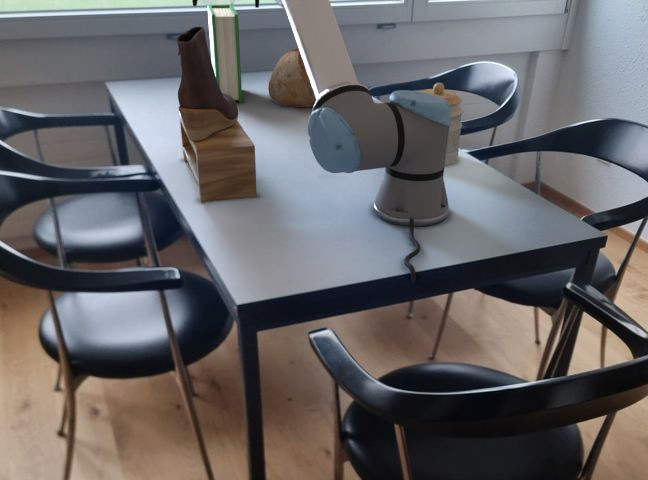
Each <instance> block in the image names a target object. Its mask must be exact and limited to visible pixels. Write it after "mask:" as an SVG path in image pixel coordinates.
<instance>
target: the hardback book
mask: <svg viewBox="0 0 648 480" xmlns="http://www.w3.org/2000/svg"><path fill="white" fill-rule="evenodd" d="M206 6H207V19H208V32H209V33H208V34H209V45H210V47H209V49H210V59H211V63H212V66H213V69H214V73H215V77H216V80H217V82H218V85H219V88H220V90H221V92H222V93H225V94H228V95H230V96H231V97H232V98H233V99H234V101H238V103H239V104H241V103H243V89H242V88H243V87H242V67H241V51H240V50H241V45H240V28H239V27H240V26H239V14H238V12H237V10H236V9H235V8H234V5H233V4H207V5H206Z"/></svg>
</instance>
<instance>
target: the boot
mask: <svg viewBox="0 0 648 480" xmlns="http://www.w3.org/2000/svg"><path fill="white" fill-rule="evenodd" d="M175 41H176V44H177V48H178V51H177V56H179V64H180V72H181V76H180V82H179V83H180V84H179V86H178V90H177V101H178V113H179V112H180V115H181V117H182V120H183V123H184V126H185V129H186V132H187V135H188V138H189V139H190V140H191V141H196V142H198V141H202V140H204V139H206V138H207V137H209V136H210V135H211V134H213V133H215V132H217V131H219V130H222V129H226V128H229V127H231V126H233V125H234V124H235V123H236V121H238V119H239V107H238V104H237V103H236V100H234V99H233V98H232V97H231V96H230V95H228V94H225V93H222V92H221V90H220V88H219V85H218V82H217V80H216V77H215V73H214V69H213V66H212V61H211V54H210V51H209V46H208V42H207V38H206V31H205V27H204V26H193V27H191V28H189V29H188V30H186V31H185V33H180V34H179V35H178V36H177V37H176V39H175Z"/></svg>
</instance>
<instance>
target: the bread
mask: <svg viewBox="0 0 648 480" xmlns="http://www.w3.org/2000/svg"><path fill="white" fill-rule="evenodd" d="M273 68H274V69H273V70H272V73H271V76H270V78H269V81H268V87H267V88H268V89H267V90H268V95H269V97H270V98H271V100H272V101H273V102H274V103H276V104H277V105H280V106H283V107H288V108H313V106H314V104H315V102H316V98H315V95H314V92H313V89H312V86H311V83H310V80H309V77H308V74H307V71H306V68H305V65H304V62H303V59H302V56H301V53H300V50H299V47H298V46H297V47H295V48H293V49H291V50H289V51H288V52H286V53H285V54H283V55H282V56H281V57H280V58H279V60H278V61H277V62H276V65H275V67H273Z"/></svg>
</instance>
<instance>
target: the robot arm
mask: <svg viewBox="0 0 648 480" xmlns="http://www.w3.org/2000/svg"><path fill="white" fill-rule="evenodd" d="M198 1H199V0H192V6H193V7H197V5H198ZM274 1H275V3H276V4H277V5H278V6H279V7H280V8H282V9H285V12H286V14H287V17H288V21H289V22H290V26H291V30H292V32H293V35H294V38H295V41H296V44H297V48H298V47H299V50H300V53H301V56H302V59H303V62H304V65H305V68H306V71H307V74H308V77H309V80H310V83H311V86H312V89H313V92H314V95H315V98H316V102H315V104H314V106H313V107H312V109H311V110H312V112H311V114H310V115H309V117H308V118H309V119H308V121H307V122H308V123H307V133H308V134H307V135H308V137H309V140H308V141H309V146H310V149H311V152H312V154H313V157H314V159H315V160H316V162H317V164H318V165H319V166H320V167H321V168H322V169H323V170H324V171H326V172H328V173H331V174H343V173H344V174H352V173H355V172H360V171H362V172H363V171H368V170H376V169H383V168H385V170H384V175H383V178H382V180H381V182H380V185H379V188H378V191H377V193H376V195H375V197H374V203H373V212H374V214H375V215H376V216H377V217H378V218H380V219H381V220H383V221H385V222H388V223H390V224H394V225H400V226H404V227H405V226H406V227H409V231H408V232H409V233H408V236H409V240H410V242H411V243H412V244H413V246H414V247H415V249H414V250H412V251H411V252H410V253H408V254H406V256H405V257H404V259H403V264H404V266H405V267H406V268H407V269H408V271H409V272H410V281H412V282H416V281H417V275H416V268H415V267H414V266H413V264H412V263H411V262H410V260H412V258H415V256H417V255H418V254H419V253H420V251H421V245H420V243H419V242H418V240H416V238H415V227H426V226H431V225H435V224H439V223H441V222H443V221H444V220H446V218H447V217H448V215H449V200H448V195H447V190H446V185H445V179H444V174H445V173H444V172H445V166H446V165H445V158H446V150H447V142H448V134H449V127H450V126H451V124H450V114H451V109H450V105H449V103H448V102H447V101H446V100H444V99H442V98H440V97H438V96H435V95H431V94H427V93H423V92H421V91H416V90H407V89H405V90H404V89H399V90H394V91H392V92H391V94H390V96H389V102H376V103H375V101H374V99H373V96H372V93H371V91H370V89H369V88H368V87H367V86H365V85H364V84H361V83H359V81H358V78H357V75H356V72H355V69H354V67H353V66H354V65H353V63H352V61H351V58H350V56H349V55H350V54H349V53H348V50H347V47H346V44H345V41H344V38H343V34H342V32H341V30H340V26H339V23H338V21H337V18H336V15H335V13H334V10H333V7H332V4H331V1H330V0H274ZM254 4H255V5H254V8H256V9H258V8H260V0H254Z"/></svg>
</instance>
